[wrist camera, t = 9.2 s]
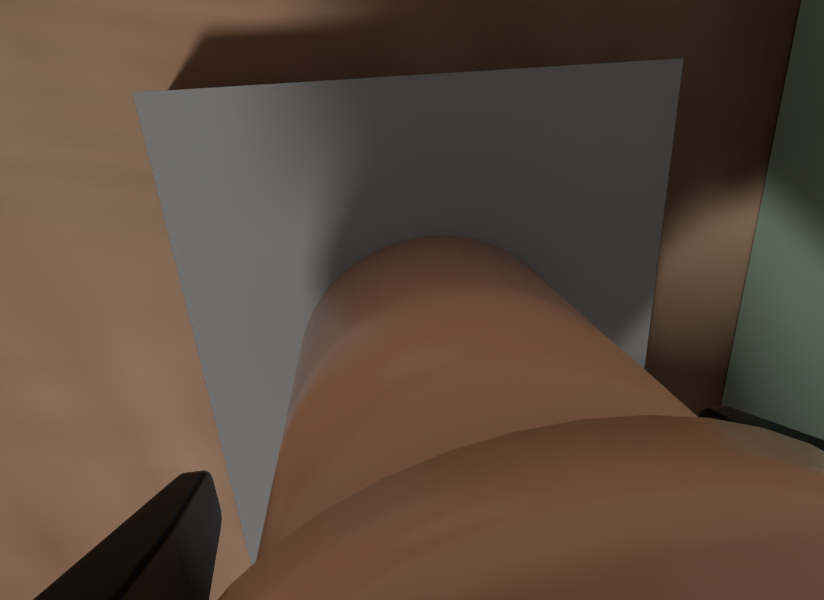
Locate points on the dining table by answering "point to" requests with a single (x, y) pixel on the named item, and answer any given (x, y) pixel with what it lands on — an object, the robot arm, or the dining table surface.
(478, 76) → the rubber mat
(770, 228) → the cold frame
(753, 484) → the terracotta pot
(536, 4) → the dining table surface
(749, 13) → the dining table surface
